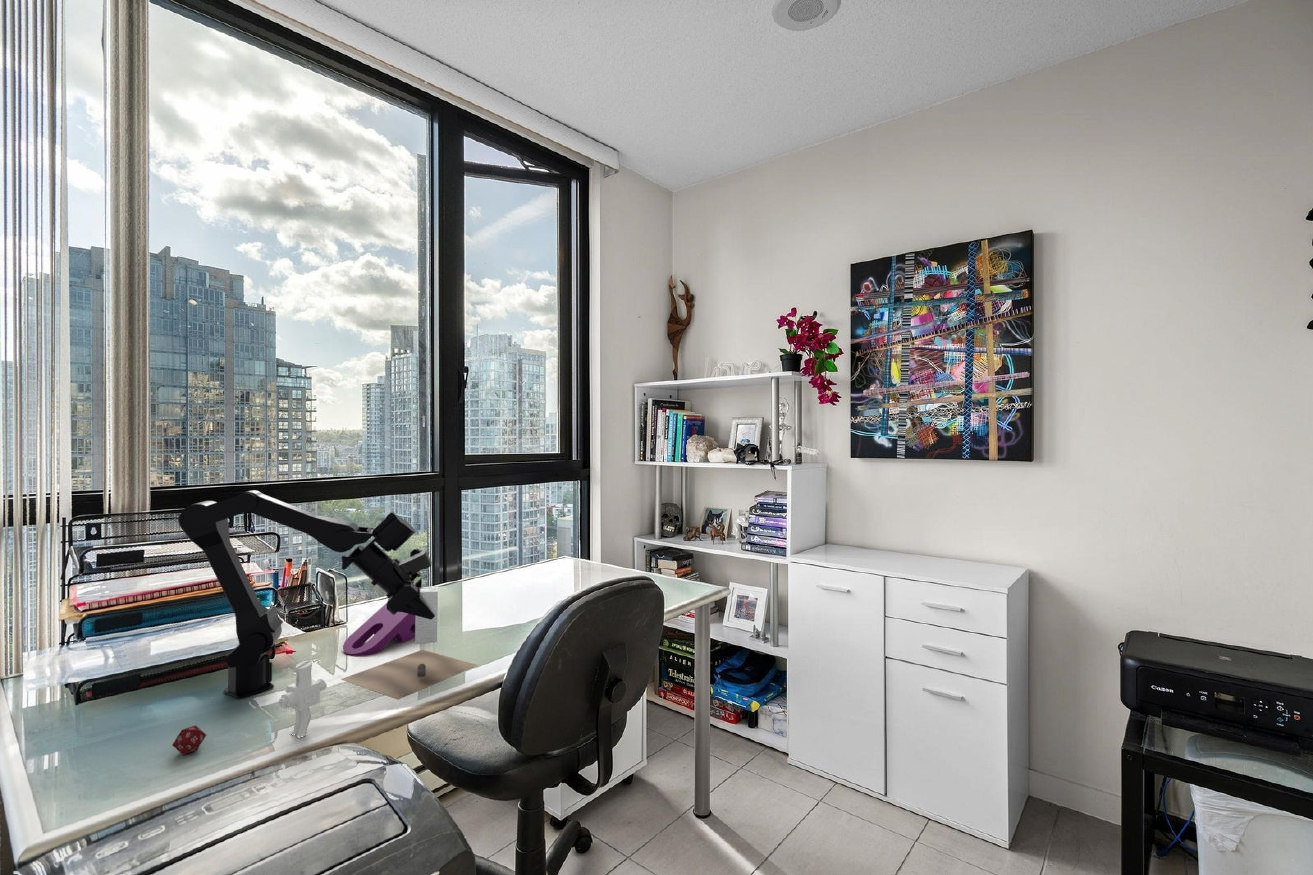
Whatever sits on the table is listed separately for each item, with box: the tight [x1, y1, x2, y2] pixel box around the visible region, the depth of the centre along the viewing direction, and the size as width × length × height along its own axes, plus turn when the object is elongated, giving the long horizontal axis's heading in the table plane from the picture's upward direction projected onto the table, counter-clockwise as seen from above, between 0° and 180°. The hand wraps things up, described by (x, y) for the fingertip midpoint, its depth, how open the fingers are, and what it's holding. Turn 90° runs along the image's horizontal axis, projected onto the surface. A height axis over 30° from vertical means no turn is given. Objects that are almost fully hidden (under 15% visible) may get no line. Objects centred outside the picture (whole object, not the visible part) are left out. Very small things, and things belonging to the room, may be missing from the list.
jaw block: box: [414, 586, 439, 645], centre depth 130 cm, size 4×4×11 cm
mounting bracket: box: [342, 602, 416, 657], centre depth 144 cm, size 10×8×18 cm
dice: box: [171, 725, 207, 756], centre depth 96 cm, size 4×4×4 cm
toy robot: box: [278, 660, 328, 737], centre depth 103 cm, size 4×8×12 cm, turn 155°
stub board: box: [341, 649, 478, 700], centre depth 126 cm, size 20×18×4 cm
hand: (433, 614), depth 130 cm, fingers closed on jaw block, 4 cm apart
